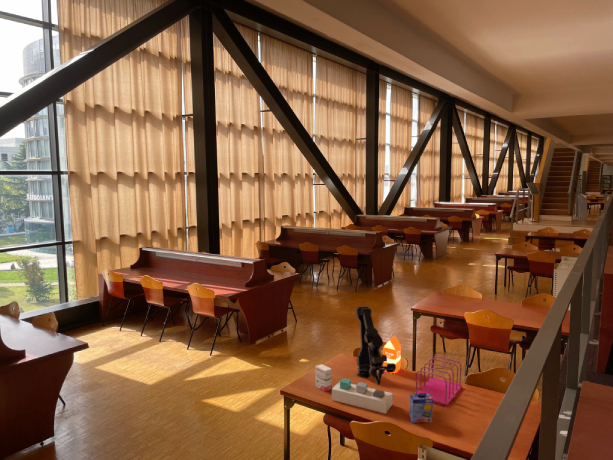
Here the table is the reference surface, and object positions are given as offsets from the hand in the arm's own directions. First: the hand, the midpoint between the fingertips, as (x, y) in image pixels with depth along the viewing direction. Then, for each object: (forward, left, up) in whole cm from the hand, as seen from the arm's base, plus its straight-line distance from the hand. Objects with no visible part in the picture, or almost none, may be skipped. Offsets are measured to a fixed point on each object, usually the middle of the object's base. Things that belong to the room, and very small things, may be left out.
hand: (379, 385), depth 239 cm
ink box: (-5, -33, -12) cm, 35 cm away
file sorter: (-28, +23, -12) cm, 39 cm away
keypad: (0, -9, -11) cm, 15 cm away
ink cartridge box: (+3, +22, -12) cm, 25 cm away
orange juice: (-44, -7, -12) cm, 46 cm away
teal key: (0, -18, -6) cm, 19 cm away
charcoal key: (0, 0, -8) cm, 8 cm away
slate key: (0, -9, -6) cm, 11 cm away
